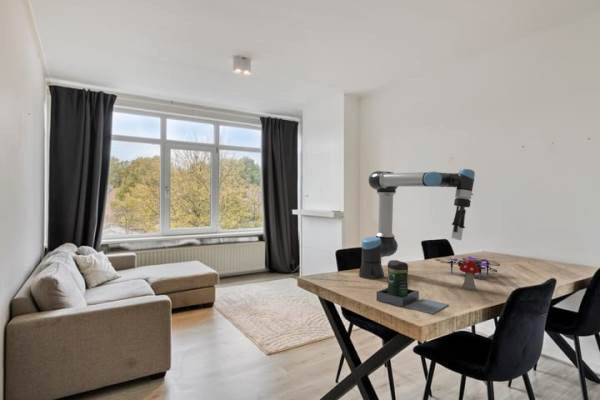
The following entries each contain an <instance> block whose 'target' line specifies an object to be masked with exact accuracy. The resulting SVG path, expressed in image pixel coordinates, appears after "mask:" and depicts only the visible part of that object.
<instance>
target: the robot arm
mask: <svg viewBox="0 0 600 400" xmlns="http://www.w3.org/2000/svg"><path fill="white" fill-rule="evenodd" d="M475 173H476V172H475V171H474V170H473V169H469V168H461V169H460V170H458V173H456V172H455V173H453V172H452V173H451V172H450V173H448V172H438V171H429V172H425V171H424V172H397V173H396V172H393V171H383V170H381V171H380V170H376V171H373V172H372V173H371V174H370V175H369V176H368V184H369V186H370V188H371V189H374V190H376V193H377V194H378V196H379V197H378V200H379V201H378V225H377V226H378V229H377V230H378V231H377V233H376V234H375V236H369V237H365V238H363V239H362V240H361V265H360V268H359V271H358V276H359V277H360V278H363V279H368V280H369V279H370V280H371V279H372V280H378V279H383V278H385V272H384V268H383V265H382V258H384V257H390V256H393V255H395V254H396V252H397V251H398V247H399V245H398V242H397V240H396V238H395V234H393V219H394V218H393V215H394V213H393V209H394V207H393V206H394V195H395V194H396V193H397V191H396V190H398V187H429V188H430V187H431V188H432V187H436V188H437V187H440V188H444V187H445V188H456V189H455V194H454V197H455V198H454V202H453V205H454V206H455V207H456V210H455V214H454V218H453V221H452V223H451V226H453V227H452V232H451V233H452V234H451V239H454V240H458V241H462V240H463V239H462V238H463V231H464V229H465V228H466V226H465V220H466V219H465V218H466V213H467V211H466V209H465V208H471V203H472V202H471V200H472V196H473V195H474V193H473V188H474V183H475Z"/></svg>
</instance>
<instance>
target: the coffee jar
mask: <svg viewBox="0 0 600 400" xmlns="http://www.w3.org/2000/svg"><path fill="white" fill-rule="evenodd" d="M387 273H388V274H387V275H388V277H387V288H388V294H391V295H395V296H399V297H403V296H405V295H407V294H408V289H409V288H408V287H409V286H408V274H409V264H408V263H407V262H404V261H402V260H398V259H394V260H393V259H391V260H389V261H388V262H387Z"/></svg>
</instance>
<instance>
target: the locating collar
mask: <svg viewBox="0 0 600 400" xmlns="http://www.w3.org/2000/svg"><path fill="white" fill-rule="evenodd" d="M419 300H420V290H416V289H415V290H414V289H412V288H408V294H407V295H405V296H403V297H399V296H395V295H391V294H388V287H386V288H383V289H380V290H378V291H376V301H377V302H382V303H385V304H389V305H393V306H398V307H401V308H404V307H406V306H408V305H410V304H412V303H414V302H416V301H419Z"/></svg>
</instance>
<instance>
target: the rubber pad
mask: <svg viewBox="0 0 600 400" xmlns="http://www.w3.org/2000/svg"><path fill="white" fill-rule="evenodd" d="M449 304H450V303H449ZM449 304H448V303H445V302H444V303H443V302H439V301H435V300H432V299H425V298H421V299H419V300H417V301H415V302H413V303H410V304H408V305H406V306H405V307H406V309H411V310H414V311H418V312H423V313H426V314H431V315H434V313H435V314H437V313H438V312H440V311H441V310H443V309H445V308H447V307H449Z"/></svg>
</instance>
